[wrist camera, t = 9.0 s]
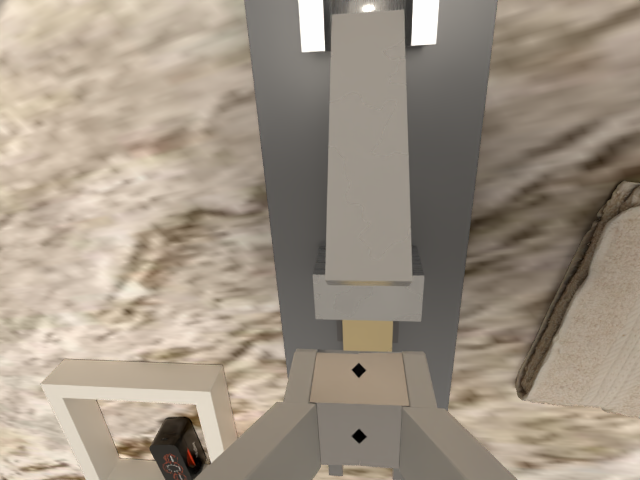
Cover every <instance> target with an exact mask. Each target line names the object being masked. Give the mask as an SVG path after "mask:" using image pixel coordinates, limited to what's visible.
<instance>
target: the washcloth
mask: <svg viewBox="0 0 640 480" xmlns="http://www.w3.org/2000/svg"><path fill="white" fill-rule="evenodd" d="M597 217H598V218H599V219H600V220H598V221H597V220H596V221H594V222H593V224H592V228H591V229H590V230H589V231H588V232H587V233H586V234H585V237H584V238H583V239H582V242H581V244H580V245H579V248H578V249H577V251H576V253H575V255H574V257H573V260H572V261H571V263H570V266H569V267H568V270H567V272H566V274H565V276H564V278H563V281H562V282H561V285H560V287H559V289H558V291H557V293H556V295H555V297H554V300H553V301H552V303H551V305H550V307H549V310H548V312H547V314H546V316H545V318H544V320H543V322H542V325H541V327H540V329H539V331H538V334H537V337H536V339H535V340H534V342H533V344H532V347H531V349H530V350H529V352H528V354H527V356H526V358H525V360H524V362H523V364H522V366H521V368H520V371H519V374H518V376H517V380H516V390H517V395H518V397H519V398H520V399H522V400H524V401H526V400H527V401H530V402H532V403H542V404H544V403H547V404H552V405H563V406H573V405H578V406H585V407H596V408H602V410H604V411H606V412H609V413H610V412H611V413H618V414H622V415H626V416H628V417H637V418H640V183H635V182H628V181H623V182H622V183H620V184H619V185H618V186H617V189H616V190H615V191H614V192H613V193H612V198H611V199H610V200H608V201H607V203H606V204H605V205H604V206H603V207H602V208H601V209H600V211H599V212H598V214H597ZM588 243H590V244H589V245H588Z"/></svg>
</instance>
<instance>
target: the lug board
mask: <svg viewBox="0 0 640 480" xmlns="http://www.w3.org/2000/svg"><path fill="white" fill-rule="evenodd" d="M244 1H245V10H246V19H247V27H248V36H249V45H250V53H251V62H252V71H253V79H254V88H255V97H256V105H257V114H258V123H259V131H260V140H261V149H262V157H263V166H264V175H265V183H266V192H267V201H268V209H269V218H270V227H271V235H272V244H273V253H274V261H275V270H276V279H277V287H278V296H279V305H280V313H281V322H282V331H283V339H284V348H285V357H286V365H287V374H288V379H289V374H290V370H291V365H292V361H293V356H294V353H295V351H296V349H314V350H318V349H323V350H343V324H342V320H372V321H393V337H392V352H402V351H423V352H424V353H425V354H426V359H427V363H428V368H429V372H430V377H431V381H432V386H433V390H434V395H435V399H436V403H437V408H444V409H446V410H447V411H448V404H449V396H450V387H451V379H452V371H453V363H454V355H455V346H456V338H457V330H458V322H459V314H460V305H461V297H462V289H463V281H464V273H465V264H466V256H467V248H468V240H469V231H470V223H471V215H472V207H473V199H474V190H475V182H476V174H477V166H478V158H479V149H480V141H481V133H482V125H483V117H484V108H485V100H486V92H487V84H488V76H489V67H490V59H491V51H492V43H493V35H494V26H495V18H496V10H497V2H498V0H404V27H405V58H406V90H407V122H408V153H409V185H410V217H411V248H412V280H413V281H412V283H411V284H410V285H409V286H353V285H328V284H327V282H326V281H325V263H326V224H327V185H328V145H329V106H330V66H331V27H332V3H331V0H244ZM329 475H334V476H343V465H329ZM392 476H393V480H405V479H404V478H403V476H402V474H401V473H400V471H399V469H396V468H392Z"/></svg>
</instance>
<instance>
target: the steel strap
mask: <svg viewBox="0 0 640 480" xmlns="http://www.w3.org/2000/svg"><path fill="white" fill-rule="evenodd" d="M331 3H332V27H331V66H330V106H329V145H328V185H327V224H326V263H325V281H326V282H327V284H328V285H353V286H409V285H410V284H411V283H412V281H413V280H412V248H411V217H410V185H409V153H408V122H407V90H406V58H405V27H404V0H331Z"/></svg>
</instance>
